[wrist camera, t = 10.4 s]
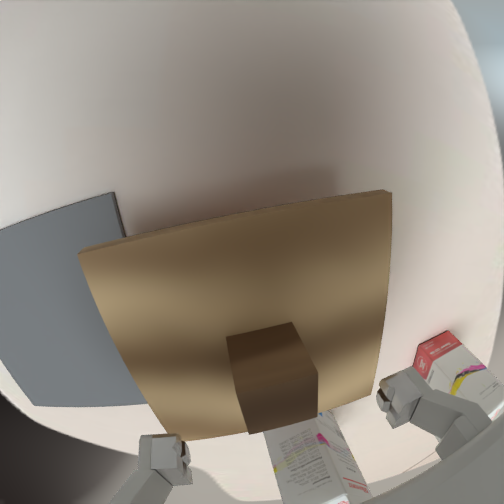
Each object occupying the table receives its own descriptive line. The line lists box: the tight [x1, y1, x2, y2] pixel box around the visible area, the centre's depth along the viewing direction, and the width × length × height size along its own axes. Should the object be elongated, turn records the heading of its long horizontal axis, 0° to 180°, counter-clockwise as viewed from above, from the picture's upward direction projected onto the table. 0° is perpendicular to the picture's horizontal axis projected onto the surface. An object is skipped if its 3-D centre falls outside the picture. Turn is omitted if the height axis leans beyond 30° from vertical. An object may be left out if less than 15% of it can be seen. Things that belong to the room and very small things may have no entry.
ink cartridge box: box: [413, 331, 504, 442], centre depth 20 cm, size 9×5×15 cm, turn 10°
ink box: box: [263, 410, 373, 504], centre depth 19 cm, size 8×5×15 cm, turn 35°
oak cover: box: [77, 190, 392, 441], centre depth 13 cm, size 14×14×4 cm
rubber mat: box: [0, 192, 148, 407], centre depth 17 cm, size 17×17×1 cm
